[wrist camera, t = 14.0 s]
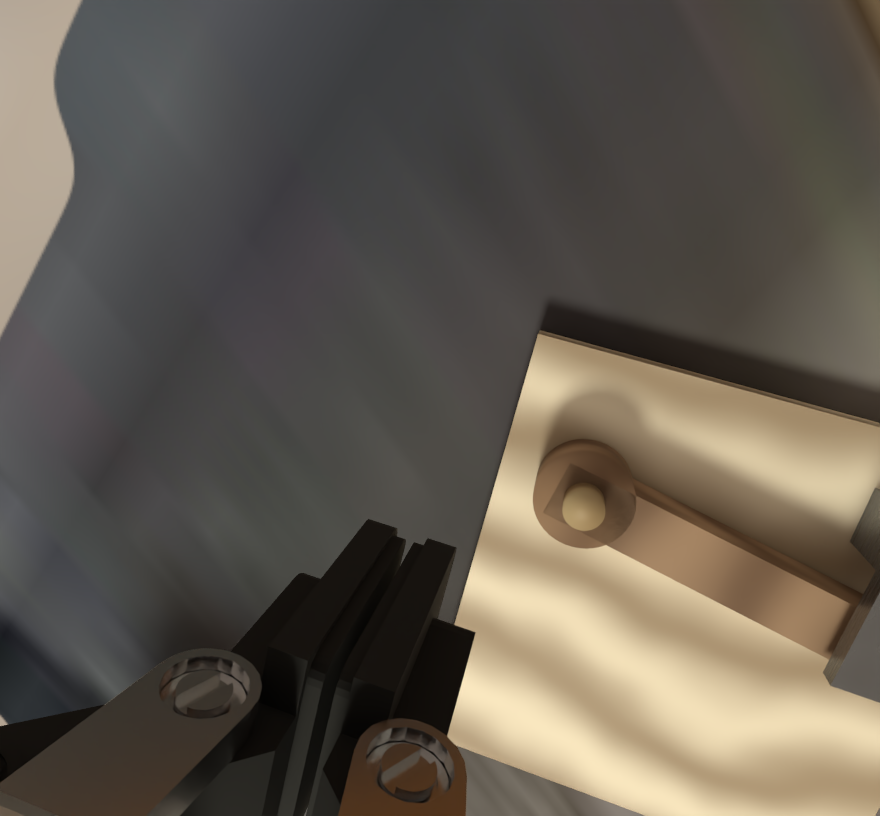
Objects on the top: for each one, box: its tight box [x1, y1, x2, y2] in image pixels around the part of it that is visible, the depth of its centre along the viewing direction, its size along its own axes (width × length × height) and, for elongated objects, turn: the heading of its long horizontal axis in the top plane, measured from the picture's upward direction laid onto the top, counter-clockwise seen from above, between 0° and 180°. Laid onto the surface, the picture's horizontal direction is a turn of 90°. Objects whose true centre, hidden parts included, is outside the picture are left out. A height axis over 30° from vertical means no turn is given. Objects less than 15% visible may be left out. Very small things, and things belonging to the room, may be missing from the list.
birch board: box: [447, 330, 880, 816], centre depth 36 cm, size 26×25×2 cm
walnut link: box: [533, 439, 863, 659], centre depth 32 cm, size 20×5×4 cm, turn 65°
